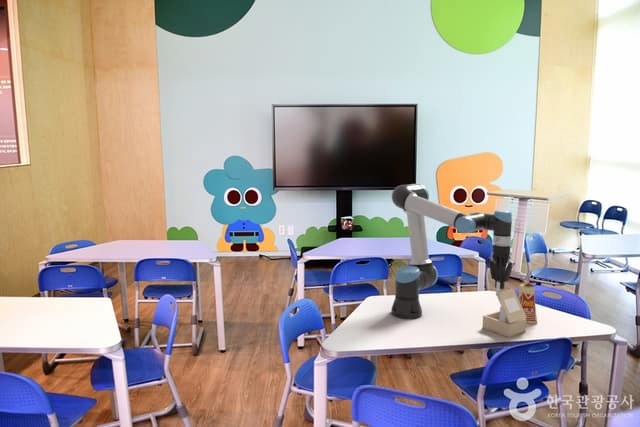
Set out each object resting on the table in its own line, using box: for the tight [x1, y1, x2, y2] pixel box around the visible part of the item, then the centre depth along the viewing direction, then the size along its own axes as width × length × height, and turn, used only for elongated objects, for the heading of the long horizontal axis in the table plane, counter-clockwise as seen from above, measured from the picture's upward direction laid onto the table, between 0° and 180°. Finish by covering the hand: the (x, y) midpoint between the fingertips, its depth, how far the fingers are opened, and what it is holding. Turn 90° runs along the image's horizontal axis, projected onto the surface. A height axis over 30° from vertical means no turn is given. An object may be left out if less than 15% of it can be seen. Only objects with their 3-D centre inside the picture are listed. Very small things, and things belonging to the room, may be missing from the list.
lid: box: [495, 288, 527, 323], centre depth 217 cm, size 14×12×1 cm
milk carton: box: [516, 280, 538, 324], centre depth 235 cm, size 9×9×20 cm
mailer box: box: [481, 305, 527, 339], centre depth 221 cm, size 14×12×12 cm
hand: (499, 295), depth 222 cm, fingers closed
